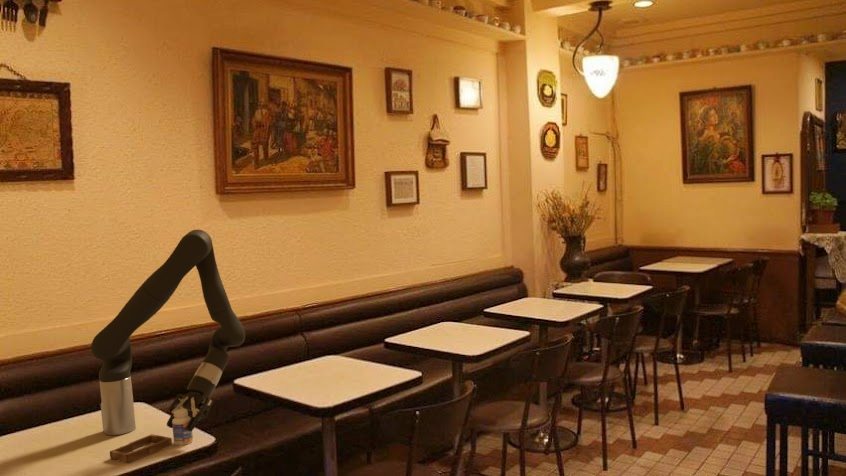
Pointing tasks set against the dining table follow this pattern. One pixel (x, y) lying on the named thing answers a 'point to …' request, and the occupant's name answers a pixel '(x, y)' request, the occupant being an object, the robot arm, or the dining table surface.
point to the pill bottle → (181, 427)
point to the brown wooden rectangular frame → (129, 456)
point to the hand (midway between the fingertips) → (178, 428)
